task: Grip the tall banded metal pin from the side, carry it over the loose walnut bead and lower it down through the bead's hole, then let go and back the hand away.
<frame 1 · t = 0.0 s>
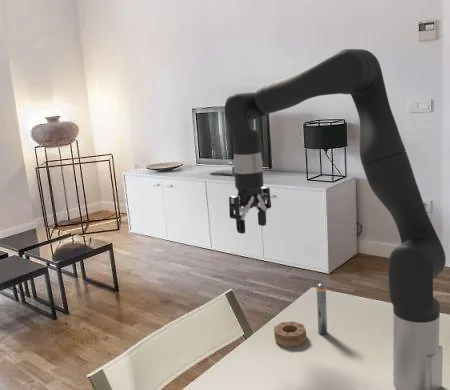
hand: (252, 229, 133), 29 cm above the table, tool pointing down, fingers open, 8 cm apart
bead: (290, 339, 131), on the table
banded metal pin: (322, 332, 133), on the table
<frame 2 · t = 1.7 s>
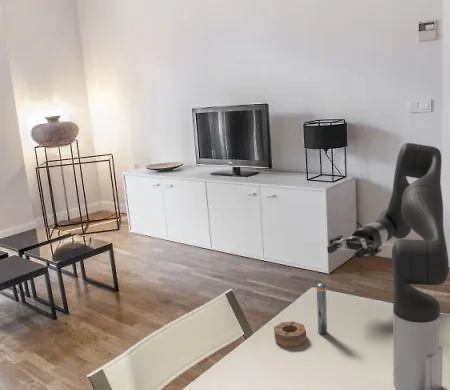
hand: (342, 252, 137), 20 cm above the table, tool horizontal, fingers open, 8 cm apart
nothing on the table moved.
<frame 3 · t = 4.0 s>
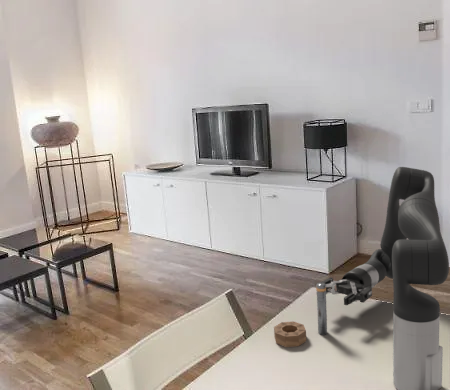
hand: (331, 298, 135), 8 cm above the table, tool horizontal, fingers open, 8 cm apart
nothing on the table moved.
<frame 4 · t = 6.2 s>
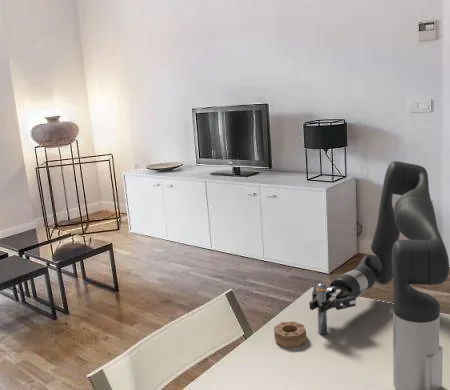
hand: (315, 307, 130), 8 cm above the table, tool horizontal, fingers closed on banded metal pin, 2 cm apart
banded metal pin: (322, 332, 133), on the table, touching gripper
everything else where it was.
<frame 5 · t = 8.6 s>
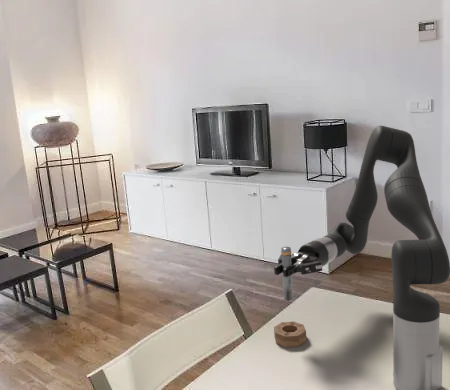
hand: (280, 272, 125), 20 cm above the table, tool horizontal, fingers closed on banded metal pin, 2 cm apart
banded metal pin: (288, 298, 129), point 11 cm above the table, touching gripper
everything else where it was.
when the fingers open (10 cm above the table, at t = 11.3 s): banded metal pin drops 1 cm, resting in bead.
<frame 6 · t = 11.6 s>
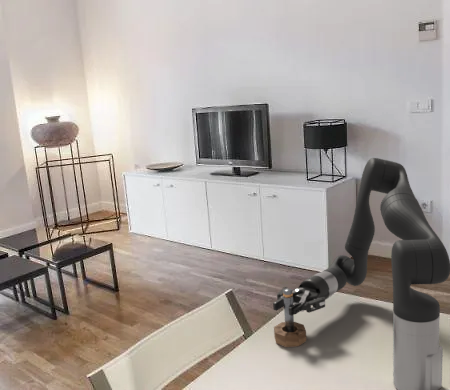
hand: (282, 309, 127), 10 cm above the table, tool horizontal, fingers open, 4 cm apart
banded metal pin: (290, 338, 131), resting in bead
everything else where it was.
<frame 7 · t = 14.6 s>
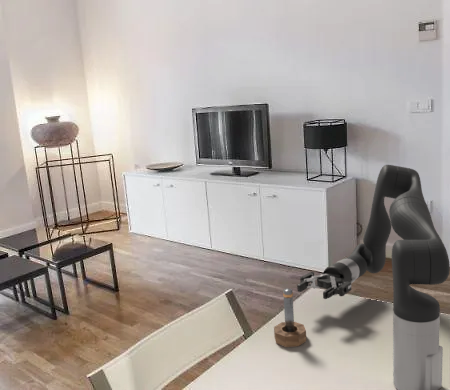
hand: (311, 292, 137), 10 cm above the table, tool horizontal, fingers open, 8 cm apart
nothing on the table moved.
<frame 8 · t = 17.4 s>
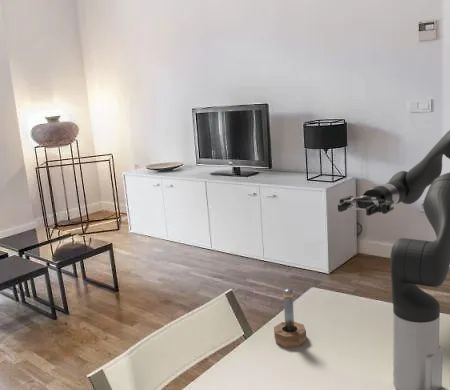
hand: (353, 210, 133), 32 cm above the table, tool horizontal, fingers open, 8 cm apart
nothing on the table moved.
at the end: banded metal pin 0.1 cm from the bead (horizontally); banded metal pin resting in bead; the gripper is holding nothing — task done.
